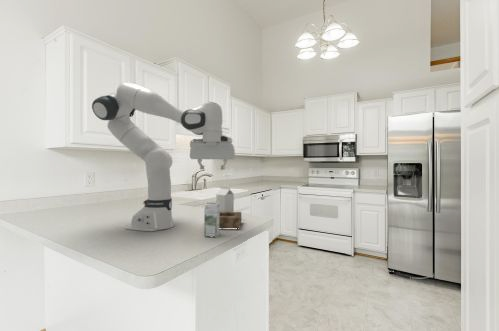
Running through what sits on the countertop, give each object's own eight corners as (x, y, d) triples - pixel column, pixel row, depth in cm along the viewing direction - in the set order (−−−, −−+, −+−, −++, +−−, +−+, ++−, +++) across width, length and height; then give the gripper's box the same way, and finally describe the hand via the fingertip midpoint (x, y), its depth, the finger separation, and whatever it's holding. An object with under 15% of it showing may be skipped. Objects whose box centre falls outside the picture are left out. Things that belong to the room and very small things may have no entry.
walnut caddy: (210, 229, 117) (210, 217, 117) (216, 222, 131) (216, 211, 131) (238, 229, 116) (238, 217, 116) (241, 222, 130) (241, 212, 130)
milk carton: (225, 222, 132) (225, 187, 132) (216, 220, 136) (216, 187, 136) (233, 219, 137) (233, 187, 137) (224, 218, 142) (224, 186, 142)
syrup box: (219, 233, 110) (219, 202, 109) (216, 237, 104) (216, 204, 104) (207, 233, 110) (207, 202, 110) (203, 237, 104) (204, 204, 104)
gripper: (187, 138, 105) (187, 169, 105) (233, 137, 103) (233, 169, 103) (192, 139, 111) (192, 169, 111) (235, 139, 109) (235, 169, 109)
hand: (212, 169), depth 107 cm, fingers open, 8 cm apart
